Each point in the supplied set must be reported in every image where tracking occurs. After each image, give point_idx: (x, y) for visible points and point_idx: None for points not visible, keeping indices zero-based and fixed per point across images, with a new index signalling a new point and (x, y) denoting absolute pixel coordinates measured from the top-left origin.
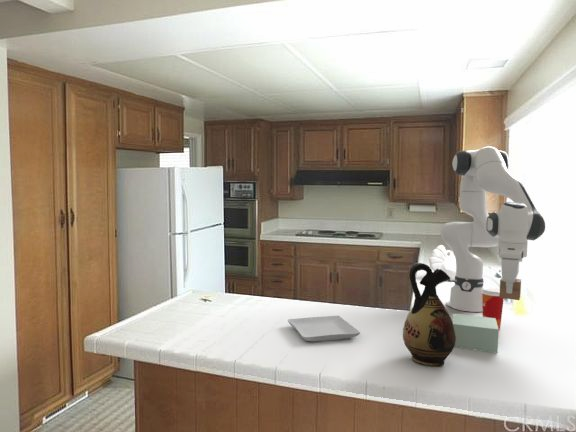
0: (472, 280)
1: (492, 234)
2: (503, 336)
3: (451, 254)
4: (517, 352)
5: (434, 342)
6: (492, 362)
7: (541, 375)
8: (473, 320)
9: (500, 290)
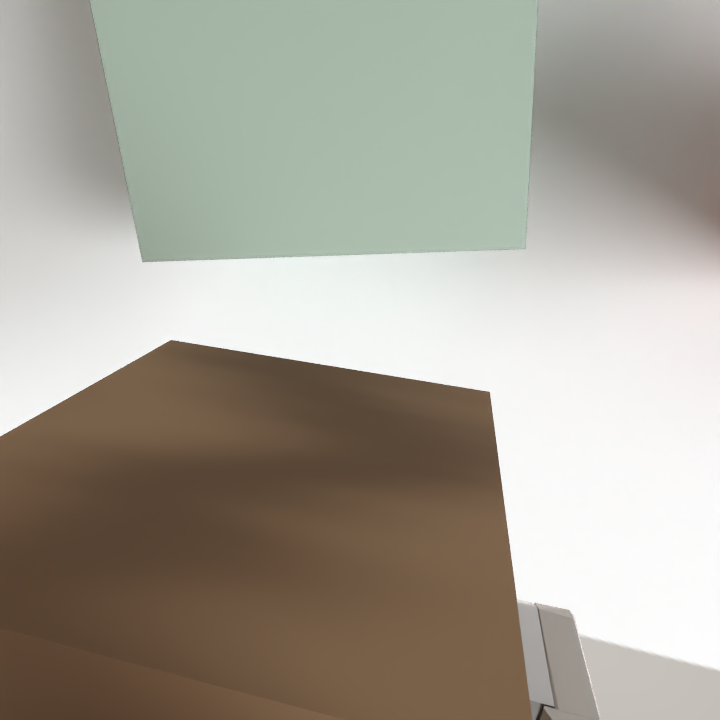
0: None
1: None
2: (624, 295)
3: None
4: (300, 350)
5: None
6: (58, 207)
7: (44, 411)
8: (314, 10)
9: (82, 407)
